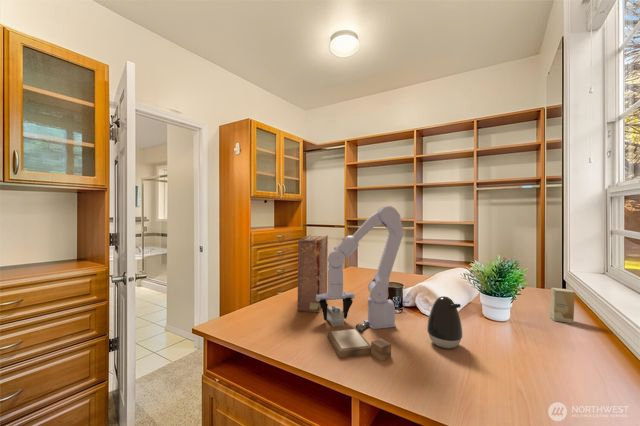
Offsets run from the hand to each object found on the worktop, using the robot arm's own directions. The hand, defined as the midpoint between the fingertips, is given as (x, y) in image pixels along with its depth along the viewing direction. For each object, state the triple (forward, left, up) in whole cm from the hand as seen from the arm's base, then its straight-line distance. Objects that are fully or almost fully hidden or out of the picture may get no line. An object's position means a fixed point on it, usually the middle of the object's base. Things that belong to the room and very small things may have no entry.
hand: (335, 318), depth 103 cm
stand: (+1, +18, -1) cm, 18 cm away
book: (+3, -24, -2) cm, 24 cm away
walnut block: (-6, +26, -2) cm, 27 cm away
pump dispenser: (-29, +24, -2) cm, 38 cm away
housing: (0, 0, -2) cm, 2 cm away
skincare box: (-88, +17, -2) cm, 90 cm away
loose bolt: (-9, +8, -1) cm, 12 cm away
